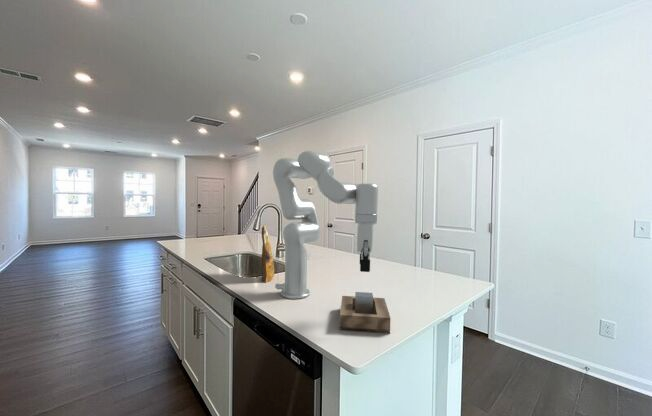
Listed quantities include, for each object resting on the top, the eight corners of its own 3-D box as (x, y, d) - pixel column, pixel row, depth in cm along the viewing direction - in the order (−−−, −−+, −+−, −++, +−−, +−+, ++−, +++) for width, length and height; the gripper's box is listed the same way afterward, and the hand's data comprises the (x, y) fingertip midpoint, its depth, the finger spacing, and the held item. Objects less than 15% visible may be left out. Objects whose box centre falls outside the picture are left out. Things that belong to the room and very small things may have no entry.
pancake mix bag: (256, 283, 137) (257, 226, 137) (263, 273, 157) (264, 223, 156) (270, 283, 138) (271, 226, 137) (275, 273, 157) (276, 223, 156)
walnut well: (339, 330, 90) (339, 314, 90) (341, 308, 108) (342, 295, 108) (390, 333, 89) (390, 318, 89) (384, 311, 107) (384, 298, 106)
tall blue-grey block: (354, 319, 97) (355, 296, 96) (354, 313, 101) (355, 291, 101) (372, 320, 96) (373, 297, 96) (371, 314, 100) (372, 292, 100)
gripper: (355, 217, 107) (353, 261, 107) (355, 220, 89) (353, 273, 90) (375, 217, 106) (373, 262, 106) (379, 221, 89) (377, 275, 89)
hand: (364, 267), depth 98 cm, fingers open, 9 cm apart
